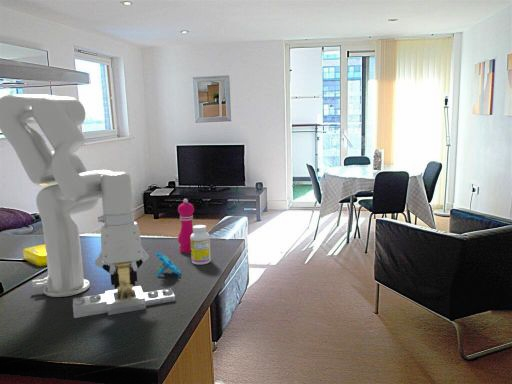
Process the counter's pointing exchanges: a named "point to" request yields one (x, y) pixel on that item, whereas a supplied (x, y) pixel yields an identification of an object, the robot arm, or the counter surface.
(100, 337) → the counter surface
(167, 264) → the gear
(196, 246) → the supplement bottle
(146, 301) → the white studded link plate
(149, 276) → the counter surface
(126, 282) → the pin
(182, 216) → the pepper mill
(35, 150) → the robot arm
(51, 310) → the counter surface
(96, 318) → the counter surface
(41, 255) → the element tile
